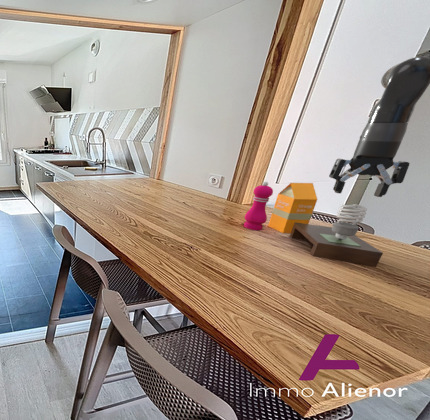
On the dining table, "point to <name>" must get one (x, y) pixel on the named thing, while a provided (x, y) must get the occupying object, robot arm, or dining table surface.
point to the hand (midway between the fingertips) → (357, 194)
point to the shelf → (336, 245)
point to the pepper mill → (258, 207)
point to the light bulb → (346, 228)
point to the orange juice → (293, 206)
